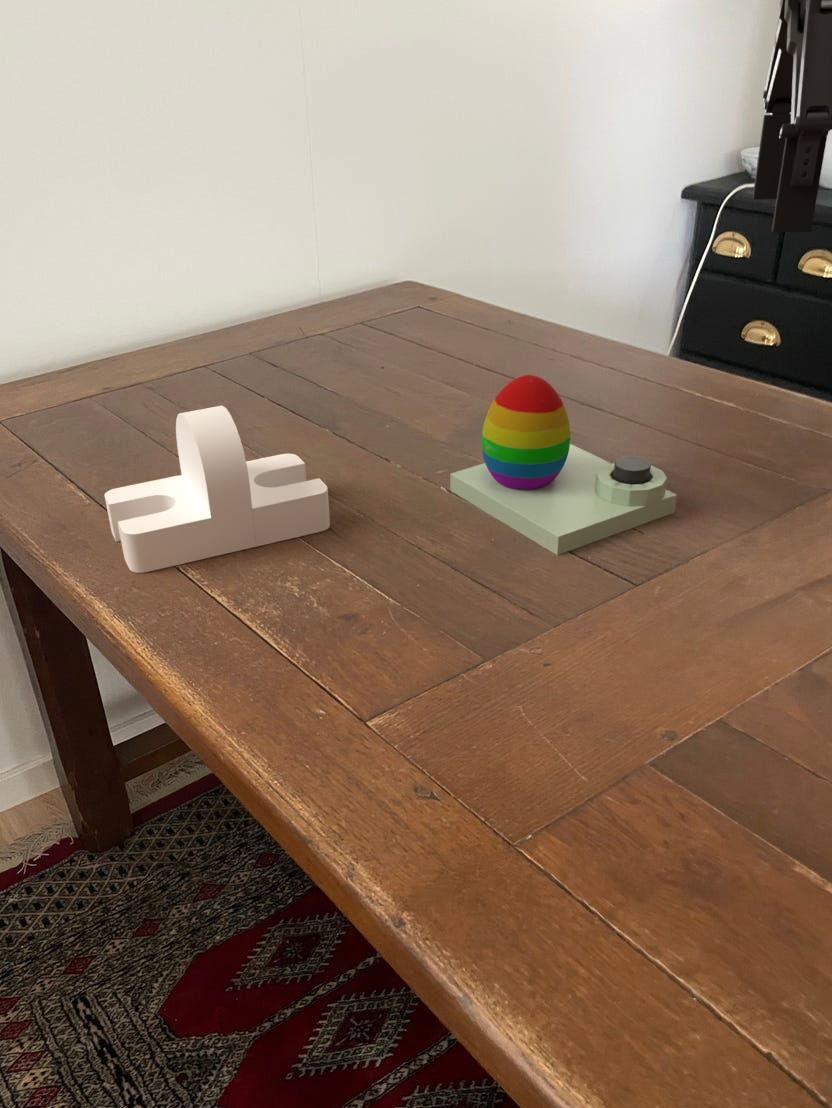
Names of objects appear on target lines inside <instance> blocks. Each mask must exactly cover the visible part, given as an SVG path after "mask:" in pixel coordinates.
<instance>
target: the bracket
mask: <svg viewBox="0 0 832 1108" xmlns="http://www.w3.org/2000/svg"><path fill="white" fill-rule="evenodd" d="M175 438H176V446H177V447H176V448H177V453H178V454H177V455H178V461H179V467H180V475H174V476H169V477H164V478H159V479H155V480H149V481H145V482H140V483H135V484H131V485H126V486H125V485H124V486H121V487H115V488H111V489H109V490H108V491H106V492H105V493H104V500H105V504H106V505H105V506H106V510H107V515H108V521H109V526H110V531H111V535H112V536H113V538H114V541H115V542H116V543H117V542H120V543H121V549H122V553H123V557H124V561H125V564H126V565H127V567H128V569H129V570H130V572H133V573H136V574H143V573H149V572H152V571H157V570H162V569H166V568H170V567H174V566H179V565H183V564H188V563H192V562H195V561H200V560H205V559H209V558H213V557H218V556H221V555H227V554H231V553H234V552H239V551H243V550H249V549H251V548H256V547H260V546H264V545H270V544H275V543H277V542H283V541H286V540H290V539H296V538H300V537H303V536H309V535H312V534H316V533H320V532H324V531H327V530H328V529H329V528H330V526H331V522H330V521H331V520H330V506H329V505H330V504H329V491H328V486H327V484H325V482H323V480H322V479H321V478H320V477H317V478H313V479H308V480H307V475H306V474H307V473H306V472H307V471H306V463H305V462H304V461H303V460H302V458H300V456H298V455H297V454H294V453H280V454H275V455H271V456H266V457H262V458H257V459H256V458H255V459H251V460H246V459H247V458H246V454H245V450H244V447H243V444H242V440H241V437H240V433H239V431H238V428H237V425H236V424H235V421H234V419H233V417H232V415H231V413H230V411H229V410H228V409H227V407H226V406H223V405H217V406H212V407H207V408H200V409H196V410H190V411H185V412H179V413H178V414H177V417H176V420H175Z"/></svg>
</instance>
